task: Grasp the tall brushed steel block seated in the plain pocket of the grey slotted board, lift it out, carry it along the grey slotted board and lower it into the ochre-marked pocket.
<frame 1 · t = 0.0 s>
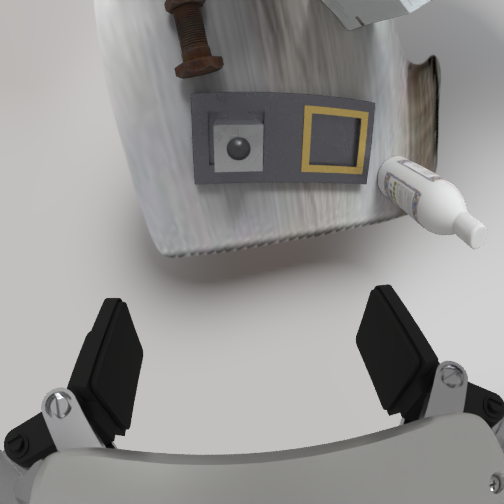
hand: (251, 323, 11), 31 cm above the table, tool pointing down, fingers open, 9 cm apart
brushed steel block: (236, 137, 35), point 1 cm above the table, touching grey slotted board
skincare box: (344, 2, 27), on the table
bath foam: (394, 176, 41), on the table
bolt: (192, 25, 28), on the table
grey slotted board: (284, 136, 37), on the table
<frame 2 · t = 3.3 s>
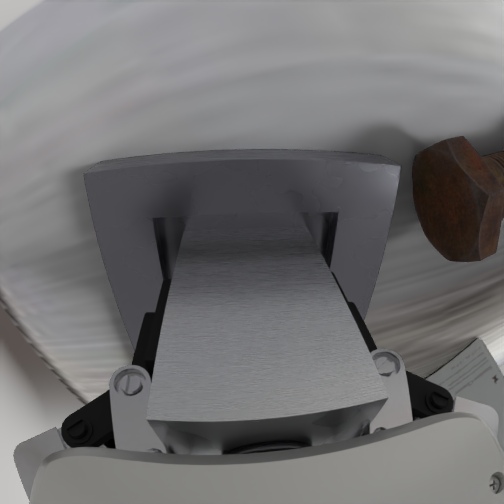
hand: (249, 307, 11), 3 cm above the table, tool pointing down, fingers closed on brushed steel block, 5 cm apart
brushed steel block: (246, 278, 13), point 1 cm above the table, touching gripper, grey slotted board
skincare box: (450, 369, 23), on the table
bolt: (497, 162, 12), on the table
grey slotted board: (246, 353, 17), on the table
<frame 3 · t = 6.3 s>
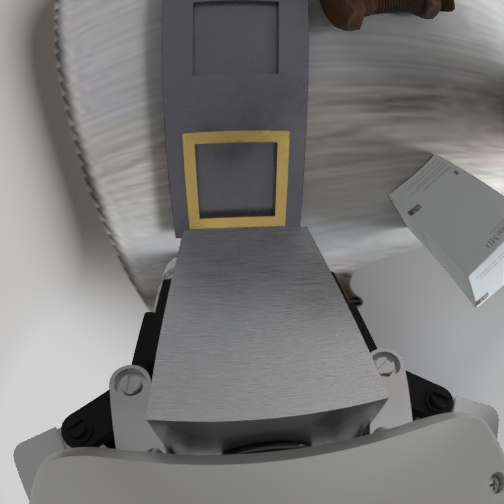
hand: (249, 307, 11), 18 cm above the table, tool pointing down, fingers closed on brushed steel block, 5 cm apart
brushed steel block: (246, 278, 13), point 16 cm above the table, touching gripper
skincare box: (419, 192, 29), on the table
bolt: (386, 3, 18), on the table
grey slotted board: (235, 106, 24), on the table
when the fingers open (4 cm above the table, at t = 9.4 s): brushed steel block drops 1 cm, resting on grey slotted board.
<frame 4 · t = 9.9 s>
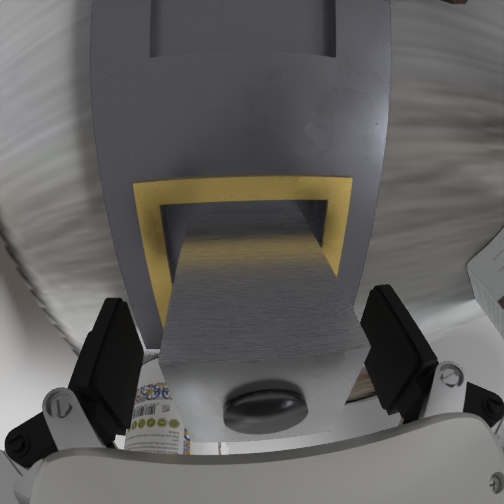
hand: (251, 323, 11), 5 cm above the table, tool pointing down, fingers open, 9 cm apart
brushed steel block: (246, 260, 14), point 1 cm above the table, touching grey slotted board
skincare box: (497, 254, 18), on the table
bath foam: (181, 378, 21), on the table
grey slotted board: (241, 121, 12), on the table
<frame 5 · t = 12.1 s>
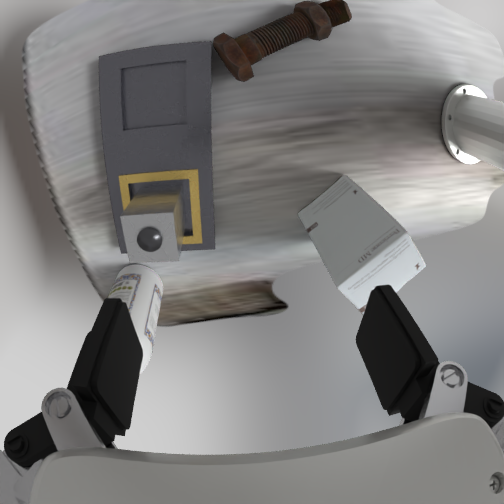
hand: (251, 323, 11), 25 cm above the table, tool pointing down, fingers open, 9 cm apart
brushed steel block: (162, 206, 33), point 1 cm above the table, touching grey slotted board
skincare box: (331, 209, 37), on the table
bath foam: (140, 282, 39), on the table
bolt: (283, 35, 25), on the table
grey slotted board: (158, 150, 30), on the table
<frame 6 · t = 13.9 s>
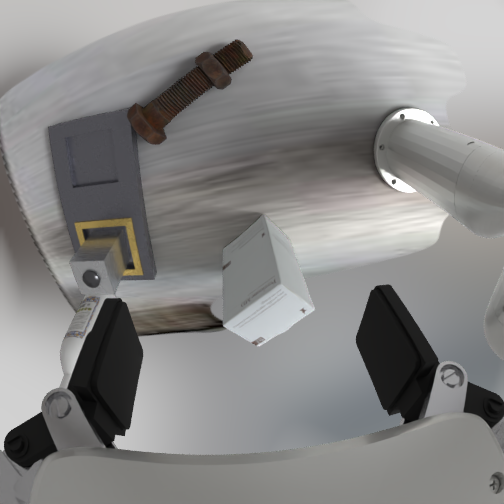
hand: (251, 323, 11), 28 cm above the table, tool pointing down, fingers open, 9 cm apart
brushed steel block: (110, 245, 39), point 1 cm above the table, touching grey slotted board
skincare box: (255, 244, 42), on the table
bath foam: (103, 301, 45), on the table
bolt: (194, 87, 30), on the table
grey slotted board: (103, 201, 36), on the table
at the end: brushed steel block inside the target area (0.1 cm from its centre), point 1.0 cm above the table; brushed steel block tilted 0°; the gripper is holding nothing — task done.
